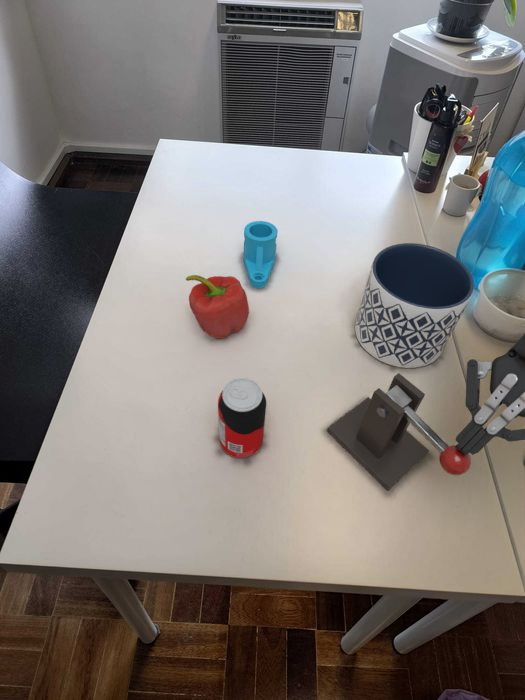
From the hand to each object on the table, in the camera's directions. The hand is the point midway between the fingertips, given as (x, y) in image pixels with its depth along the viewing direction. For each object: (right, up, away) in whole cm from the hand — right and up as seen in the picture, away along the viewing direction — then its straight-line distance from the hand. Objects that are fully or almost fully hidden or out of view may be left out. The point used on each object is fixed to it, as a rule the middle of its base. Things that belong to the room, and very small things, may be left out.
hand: (461, 451), depth 56 cm
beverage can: (-27, -1, +13) cm, 30 cm away
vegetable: (-32, +17, +28) cm, 45 cm away
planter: (+1, +15, +28) cm, 32 cm away
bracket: (-25, +28, +39) cm, 54 cm away
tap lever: (-3, +1, +5) cm, 6 cm away
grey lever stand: (-7, -2, +14) cm, 15 cm away
